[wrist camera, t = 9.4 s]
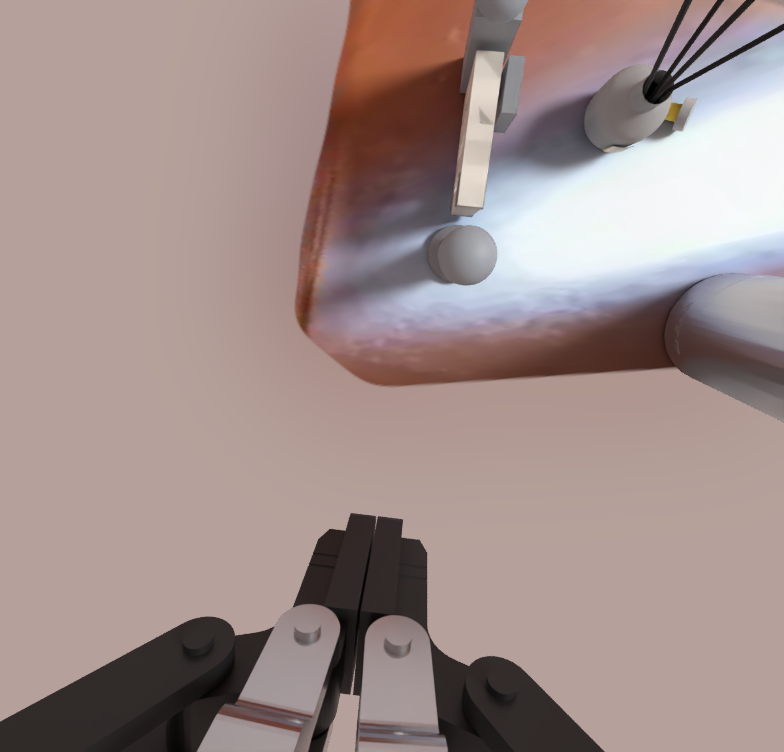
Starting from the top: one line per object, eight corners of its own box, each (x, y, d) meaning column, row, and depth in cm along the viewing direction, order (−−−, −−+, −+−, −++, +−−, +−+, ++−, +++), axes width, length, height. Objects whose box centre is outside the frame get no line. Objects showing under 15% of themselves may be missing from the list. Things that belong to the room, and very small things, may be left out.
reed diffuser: (552, 164, 36) (695, 69, 17) (548, 66, 34) (703, -166, 15) (688, 144, 35) (1005, 16, 16) (691, 41, 33) (1053, -243, 14)
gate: (471, 217, 37) (484, 207, 29) (449, 214, 37) (455, 205, 29) (487, 99, 35) (506, 52, 26) (463, 97, 35) (475, 49, 26)
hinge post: (486, 228, 38) (519, 216, 24) (478, 284, 39) (505, 302, 26) (430, 222, 38) (433, 208, 24) (424, 278, 39) (423, 294, 26)
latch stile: (511, 57, 34) (563, -60, 21) (500, 139, 36) (542, 76, 23) (461, 53, 35) (482, -65, 21) (452, 135, 36) (466, 70, 23)
